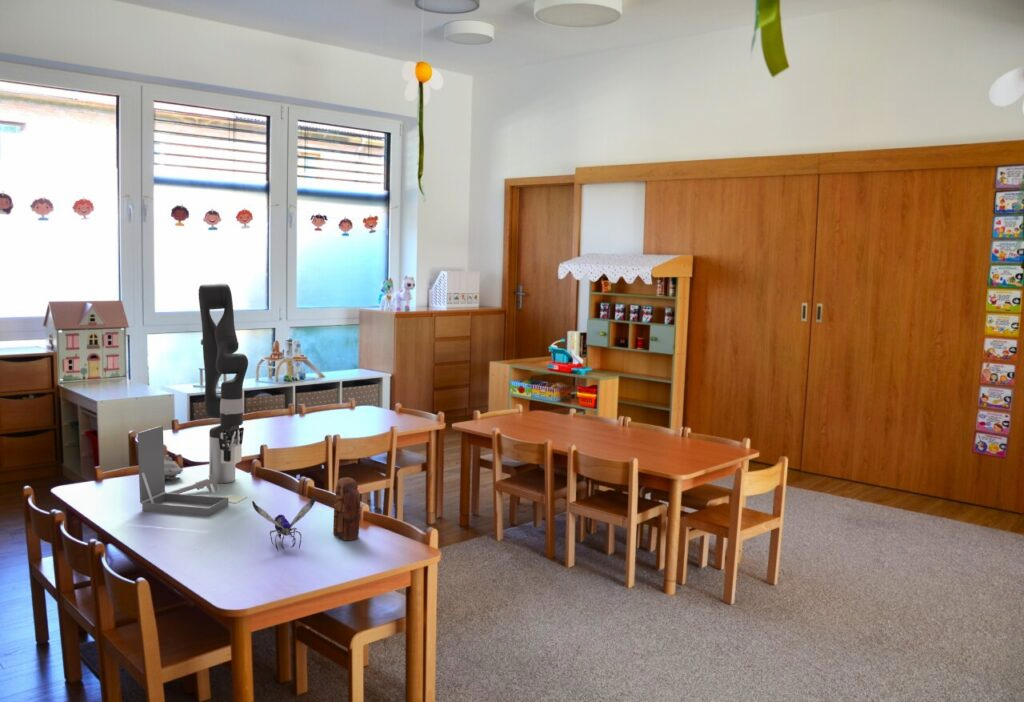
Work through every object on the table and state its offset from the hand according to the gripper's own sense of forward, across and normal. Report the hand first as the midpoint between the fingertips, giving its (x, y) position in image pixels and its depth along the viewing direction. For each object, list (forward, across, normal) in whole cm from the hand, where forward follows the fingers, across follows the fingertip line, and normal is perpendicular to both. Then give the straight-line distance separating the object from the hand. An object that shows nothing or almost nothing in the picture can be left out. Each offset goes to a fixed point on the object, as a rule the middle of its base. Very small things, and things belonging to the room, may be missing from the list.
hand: (231, 459), depth 283 cm
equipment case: (+15, +14, -9) cm, 22 cm away
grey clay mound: (+15, -19, -36) cm, 43 cm away
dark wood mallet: (+15, +26, +51) cm, 59 cm away
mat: (+15, 0, 0) cm, 15 cm away
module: (+1, 0, 0) cm, 1 cm away
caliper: (+15, -3, -18) cm, 24 cm away
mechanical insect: (+15, +38, +36) cm, 54 cm away
